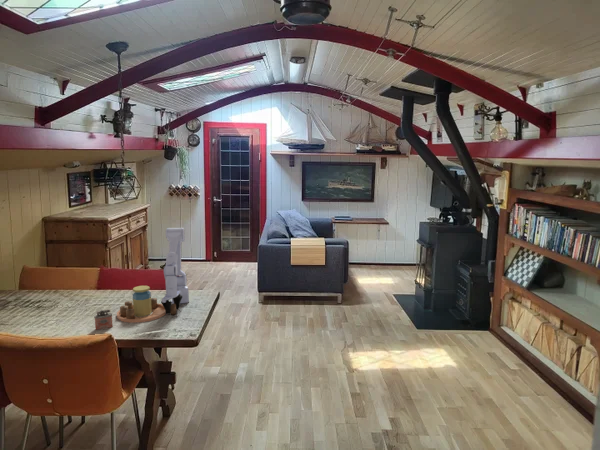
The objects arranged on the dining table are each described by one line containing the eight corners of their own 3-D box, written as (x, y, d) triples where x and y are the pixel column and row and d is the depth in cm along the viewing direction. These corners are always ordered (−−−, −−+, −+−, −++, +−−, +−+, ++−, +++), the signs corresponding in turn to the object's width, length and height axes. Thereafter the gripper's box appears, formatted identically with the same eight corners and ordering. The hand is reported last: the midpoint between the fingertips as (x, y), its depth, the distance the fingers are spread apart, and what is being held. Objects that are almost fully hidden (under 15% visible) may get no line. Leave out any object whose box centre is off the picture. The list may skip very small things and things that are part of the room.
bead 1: (156, 306, 245) (156, 297, 244) (157, 308, 241) (157, 299, 240) (149, 307, 243) (148, 298, 242) (150, 309, 239) (149, 300, 239)
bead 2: (175, 311, 238) (174, 302, 237) (177, 314, 235) (176, 305, 234) (167, 313, 236) (167, 304, 235) (169, 315, 233) (169, 306, 232)
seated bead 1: (128, 314, 233) (127, 305, 232) (128, 316, 229) (128, 307, 228) (120, 315, 231) (119, 306, 230) (120, 317, 227) (120, 308, 227)
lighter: (95, 332, 211) (93, 312, 209) (95, 329, 214) (93, 310, 212) (113, 329, 215) (112, 309, 213) (112, 326, 218) (111, 307, 216)
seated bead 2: (132, 309, 239) (132, 300, 239) (133, 311, 236) (132, 302, 235) (125, 310, 238) (124, 301, 237) (125, 312, 234) (124, 304, 233)
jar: (150, 310, 240) (149, 284, 238) (152, 316, 232) (151, 289, 229) (133, 313, 236) (131, 286, 234) (134, 318, 228) (132, 291, 226)
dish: (163, 304, 250) (163, 300, 250) (170, 319, 228) (169, 315, 227) (116, 310, 240) (116, 306, 240) (118, 327, 217) (117, 322, 217)
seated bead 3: (134, 317, 228) (133, 308, 227) (135, 320, 224) (134, 310, 224) (126, 318, 226) (125, 309, 226) (126, 321, 223) (126, 311, 222)
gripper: (173, 282, 241) (174, 305, 243) (156, 290, 228) (157, 314, 230) (184, 283, 239) (185, 307, 241) (167, 291, 225) (168, 316, 228)
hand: (172, 311), depth 235 cm, fingers open, 7 cm apart
